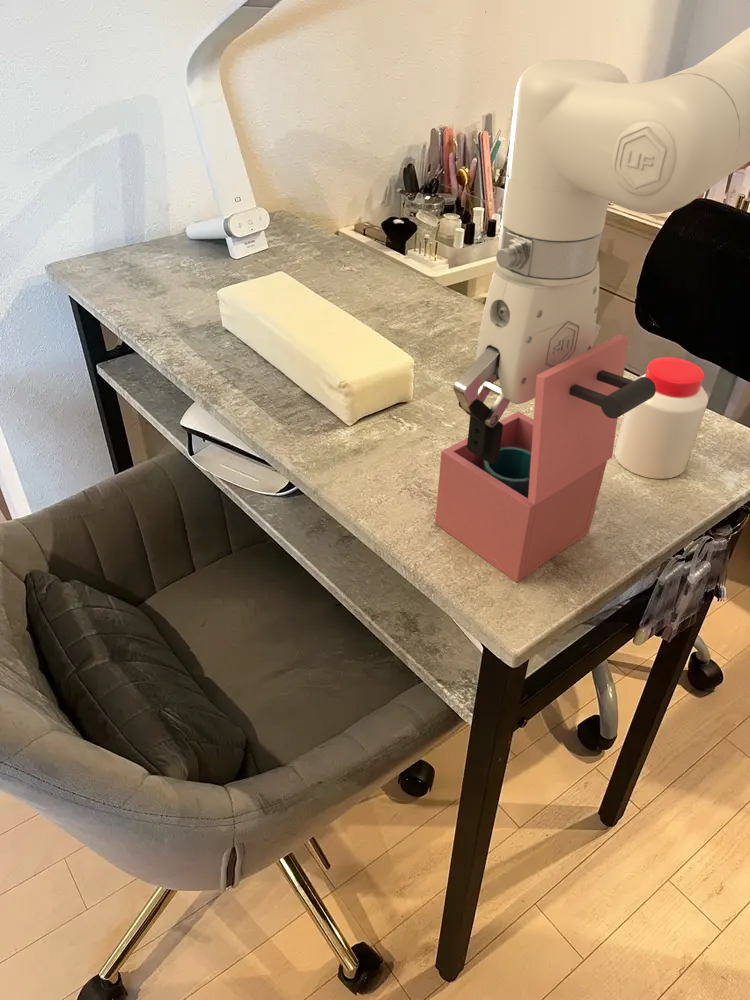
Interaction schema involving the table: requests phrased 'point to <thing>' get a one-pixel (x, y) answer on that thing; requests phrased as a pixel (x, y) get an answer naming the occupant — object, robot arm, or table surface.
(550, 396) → the lid
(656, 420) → the pill bottle
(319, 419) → the table surface
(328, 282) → the table surface
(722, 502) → the table surface
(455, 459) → the pink box
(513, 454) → the cup
